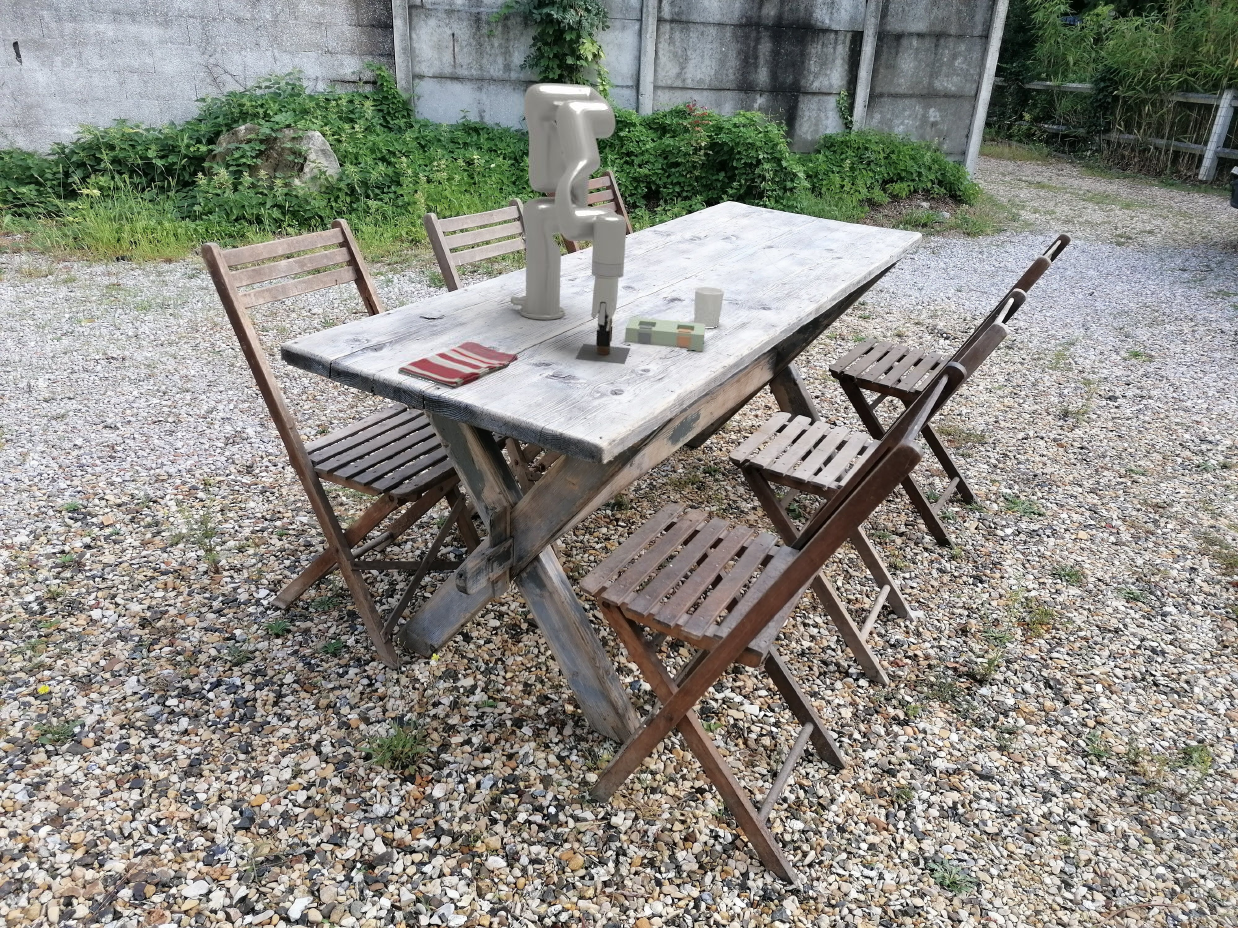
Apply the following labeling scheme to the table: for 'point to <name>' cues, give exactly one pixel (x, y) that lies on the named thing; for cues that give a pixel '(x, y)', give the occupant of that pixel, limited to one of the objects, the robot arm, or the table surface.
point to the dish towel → (459, 365)
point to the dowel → (605, 350)
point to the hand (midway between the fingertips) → (603, 343)
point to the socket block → (665, 333)
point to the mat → (615, 356)
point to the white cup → (708, 305)
